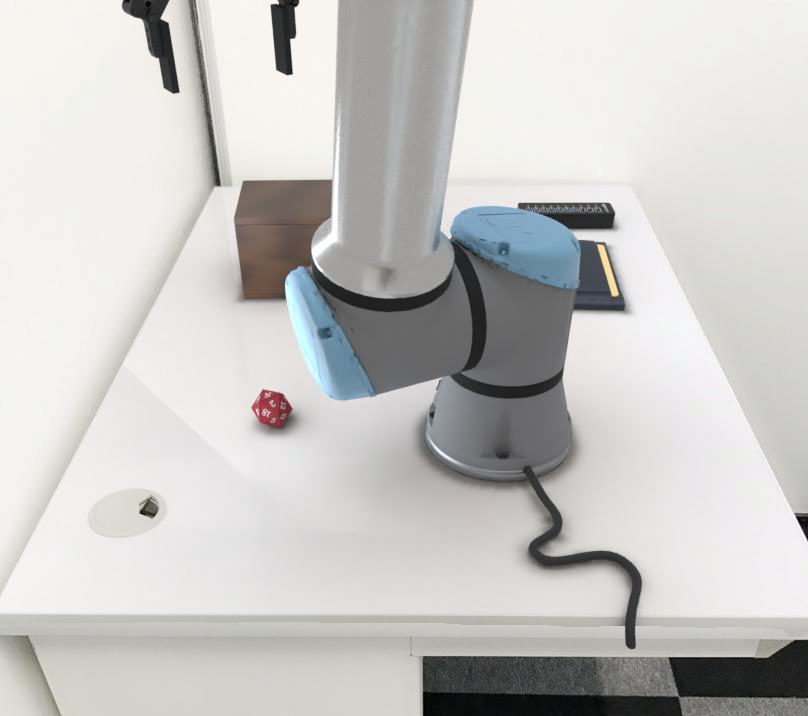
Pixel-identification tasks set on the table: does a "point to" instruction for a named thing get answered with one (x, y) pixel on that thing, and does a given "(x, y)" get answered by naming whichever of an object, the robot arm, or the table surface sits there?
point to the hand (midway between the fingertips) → (229, 81)
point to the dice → (271, 408)
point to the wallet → (597, 279)
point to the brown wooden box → (277, 230)
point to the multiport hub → (575, 213)
